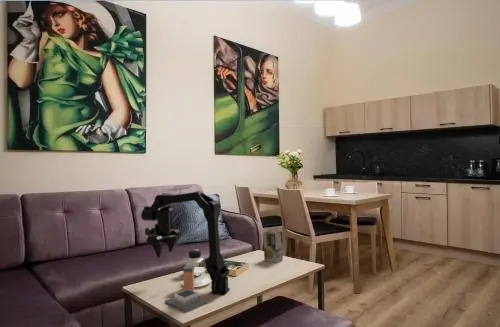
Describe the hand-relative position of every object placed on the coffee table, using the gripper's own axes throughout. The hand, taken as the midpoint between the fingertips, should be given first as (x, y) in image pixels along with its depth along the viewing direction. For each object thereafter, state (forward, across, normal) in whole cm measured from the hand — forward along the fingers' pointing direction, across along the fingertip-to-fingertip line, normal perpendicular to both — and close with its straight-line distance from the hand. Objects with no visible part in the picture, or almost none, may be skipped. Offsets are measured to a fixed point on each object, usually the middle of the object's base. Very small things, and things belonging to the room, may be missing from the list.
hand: (164, 254), depth 149 cm
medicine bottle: (+15, -18, +6) cm, 24 cm away
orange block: (+15, +1, +13) cm, 20 cm away
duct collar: (+15, +14, +19) cm, 28 cm away
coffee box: (+15, -50, +38) cm, 65 cm away
